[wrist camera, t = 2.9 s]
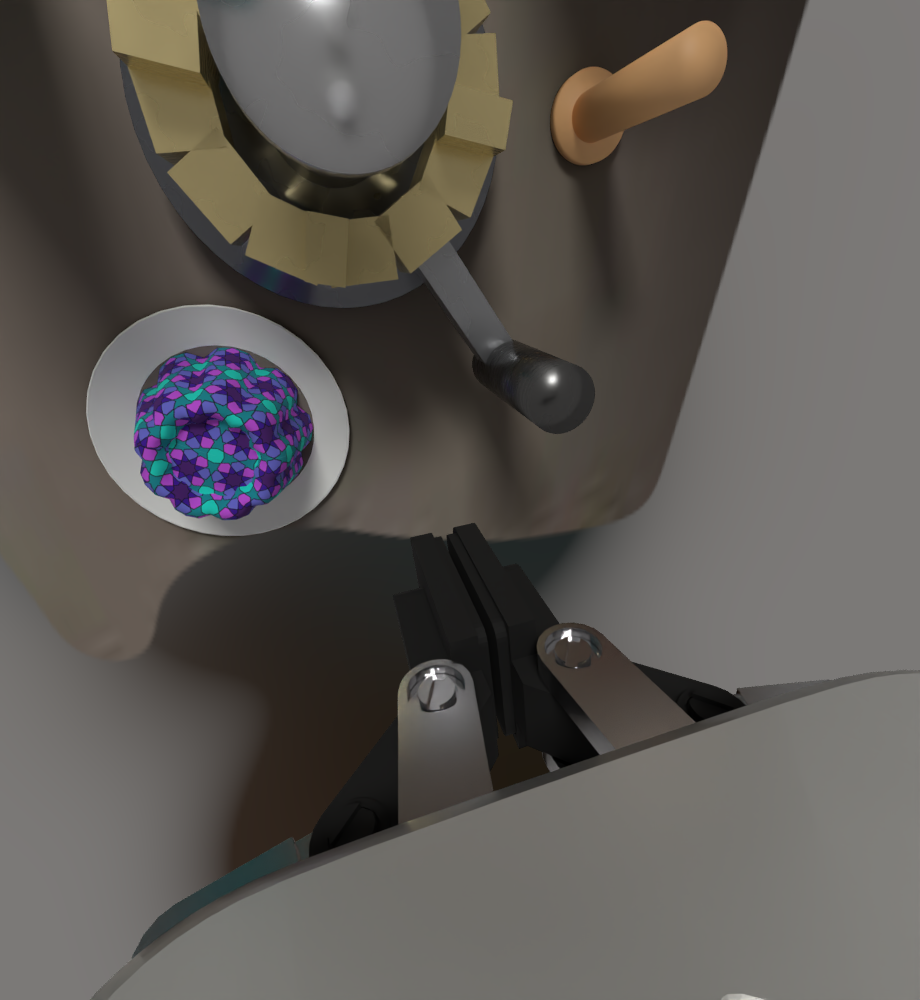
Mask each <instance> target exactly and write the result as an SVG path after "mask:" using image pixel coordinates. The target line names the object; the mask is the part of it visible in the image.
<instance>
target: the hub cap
mask: <svg viewBox="0 0 920 1000" xmlns="http://www.w3.org/2000/svg"><path fill="white" fill-rule="evenodd" d="M197 4H198V9H199V13H200V18H201V23H202V27H203V30H204V33H205V36H206V39H207V43H208V46H209V49H210V51H211V53H212V56H213V58H214V60H215V63H216V65H217V67H218V70H219V72H220V74H221V76H220V81H219V90H220V93H221V97H222V101H223V105H224V109H225V112H226V116H227V120H228V124H229V128H230V131H231V135H232V139H233V143H234V146H235V150H236V152H237V153H238V155H239V156H240V157H241V158H242V160H243V161H244V162H245V163H246V165H247V166H248V167H249V168H250V170H251V171H252V172H253V174H254V175H255V176H256V177H257V179H258V180H259V181H260V182H261V184H262V185H263V186H264V187H265V189H266V190H267V191H268V192H269V194H270V195H272V196H274V197H276V198H278V199H280V200H282V201H284V202H287V203H289V204H291V205H293V206H295V207H297V208H299V209H301V210H303V211H305V212H306V211H311V212H316V213H321V214H326V215H332V216H337V217H342V218H348V219H357V218H366V217H376V216H379V215H380V214H381V213H382V212H384V211H385V210H386V209H387V208H388V207H389V206H390V205H392V204H393V203H394V202H395V201H396V200H397V199H399V198H400V197H401V196H402V195H403V194H404V193H405V192H407V191H408V190H409V188H410V185H411V182H412V179H413V176H414V173H415V170H416V167H417V164H418V161H419V158H420V155H421V152H422V149H423V146H424V143H425V141H426V140H427V139H428V137H429V136H430V135H431V133H432V132H433V131H434V129H435V128H436V127H437V125H438V123H439V121H440V119H441V118H442V116H443V114H444V112H445V110H446V108H447V105H448V103H449V100H450V98H451V95H452V92H453V89H454V85H455V81H456V78H457V72H458V66H459V60H460V49H461V16H460V8H459V0H197ZM483 33H485V31H484V28H483V25H481V27H480V28H479V29H478V31H477V32H476V34H483ZM120 67H121V73H122V79H123V85H124V91H125V97H126V101H127V105H128V108H129V112H130V115H131V119H132V123H133V126H134V130H135V132H136V135H137V137H138V140H139V142H140V145H141V147H142V150H143V152H144V155H145V157H146V160H147V162H148V163H149V165H150V167H151V169H152V171H153V173H154V175H155V177H156V179H157V181H158V183H159V185H160V186H161V188H162V190H163V191H164V193H165V194H166V196H167V197H168V199H169V200H170V202H171V203H172V205H173V206H174V208H175V209H176V211H177V212H178V214H179V215H180V216H181V217H182V219H183V220H184V221H185V222H186V223H187V225H188V226H189V227H190V228H191V230H192V231H193V232H194V233H195V234H196V236H197V237H198V238H199V239H200V240H201V241H203V242H204V243H205V244H206V245H207V246H208V247H209V248H210V249H211V250H212V251H213V252H214V253H215V254H216V255H217V256H218V257H219V258H221V259H222V260H223V261H224V262H226V263H227V264H228V265H229V266H231V267H232V268H233V269H234V270H236V271H237V272H239V273H240V274H242V275H243V276H245V277H246V278H248V279H250V280H251V281H253V282H254V283H256V284H258V285H260V286H262V287H264V288H266V289H268V290H270V291H272V292H274V293H276V294H278V295H281V296H284V297H287V298H290V299H293V300H296V301H299V302H302V303H307V304H312V305H317V306H322V307H335V308H352V307H365V306H369V305H374V304H379V303H383V302H386V301H389V300H392V299H394V298H397V297H400V296H402V295H404V294H406V293H408V292H410V291H412V290H413V289H415V288H417V287H419V286H420V285H422V284H423V283H424V282H423V281H422V279H421V278H420V276H419V275H418V273H417V272H416V271H415V270H414V271H413V272H412V273H411V274H410V273H403V272H400V271H399V270H398V268H397V274H398V279H397V280H389V281H382V282H374V283H366V284H359V285H351V286H345V288H343V287H336V288H331V286H330V285H323V284H318V285H317V286H316V285H314V284H311V283H309V282H305V281H304V280H302V279H300V278H297V277H295V276H293V275H290V274H288V273H286V272H283V271H281V270H279V269H276V268H274V267H272V266H269V265H267V264H265V263H262V262H260V261H258V260H255V259H253V258H251V257H248V256H246V255H245V254H246V250H247V245H248V241H249V239H248V240H247V241H246V242H245V243H244V244H243V245H242V246H237V245H231V244H230V243H229V242H228V241H227V240H226V239H225V238H224V237H223V235H222V234H221V233H220V232H219V231H218V230H217V229H216V227H215V226H214V225H213V224H212V223H211V222H210V221H209V219H208V218H207V217H206V216H205V215H204V214H203V213H202V212H201V210H200V209H199V208H198V207H197V206H196V205H195V204H194V202H193V201H192V200H191V199H190V198H189V197H188V196H187V194H186V193H185V192H184V191H183V190H182V189H181V188H180V187H179V185H178V184H177V183H176V182H175V181H174V180H173V179H172V177H171V176H170V175H169V174H168V173H167V172H168V171H169V170H170V169H171V168H172V167H173V166H174V165H173V164H171V163H170V162H168V161H167V160H165V159H164V158H162V157H161V156H159V155H158V154H156V151H155V148H154V145H153V142H152V139H151V136H150V133H149V130H148V127H147V124H146V121H145V118H144V115H143V112H142V109H141V106H140V103H139V99H138V96H137V93H136V90H135V87H134V84H133V81H132V78H131V75H130V72H129V69H128V66H127V65H126V64H125V63H124V62H123V61H122V60H121V59H120ZM495 160H496V156H494V157H493V159H492V162H491V165H490V167H489V170H488V173H487V175H486V178H485V180H484V183H483V186H482V188H481V191H480V194H479V196H478V199H477V202H476V204H475V207H474V210H473V212H472V215H471V218H467V219H463V220H459V221H457V222H458V224H459V226H460V227H461V229H462V230H461V231H460V232H459V233H458V234H457V235H455V236H454V237H453V238H452V239H451V240H450V241H449V242H450V243H451V245H452V246H453V248H454V249H455V251H456V252H457V251H458V250H459V248H460V247H461V246H462V245H463V243H464V242H465V240H466V238H467V237H468V235H469V233H470V232H471V230H472V228H473V227H474V225H475V223H476V220H477V218H478V216H479V214H480V212H481V209H482V207H483V205H484V202H485V199H486V196H487V193H488V190H489V186H490V183H491V179H492V174H493V169H494V165H495Z"/></svg>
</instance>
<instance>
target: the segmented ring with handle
mask: <svg viewBox="0 0 920 1000" xmlns="http://www.w3.org/2000/svg"><path fill="white" fill-rule="evenodd" d="M107 8H108V17H109V26H110V35H111V44H112V51H113V52H114V53H115V54H116V55H117V56H118V57H119V58H120V59H121V60H122V61H123V62H124V63H125V64H126V65H127V66H128V69H129V72H130V75H131V78H132V81H133V84H134V87H135V90H136V93H137V96H138V99H139V103H140V106H141V109H142V112H143V115H144V118H145V121H146V124H147V127H148V130H149V133H150V136H151V139H152V142H153V145H154V148H155V151H156V154H158V155H159V156H161V157H162V158H164V159H165V160H167V161H168V162H170V163H171V164H173V165H174V166H173V167H172V168H171V169H170V170H169V171H168V172H167V173H168V174H169V175H170V176H171V177H172V179H173V180H174V181H175V182H176V183H177V184H178V185H179V187H180V188H181V189H182V190H183V191H184V192H185V193H186V194H187V196H188V197H189V198H190V199H191V200H192V201H193V202H194V204H195V205H196V206H197V207H198V208H199V209H200V210H201V212H202V213H203V214H204V215H205V216H206V217H207V218H208V219H209V221H210V222H211V223H212V224H213V225H214V226H215V227H216V229H217V230H218V231H219V232H220V233H221V234H222V235H223V237H224V238H225V239H226V240H227V241H228V242H229V243H230V244H231V245H237V246H242V245H243V244H244V243H245V242H246V241H247V240H248V239H249V241H248V245H247V250H246V254H245V255H246V256H248V257H251V258H253V259H255V260H258V261H260V262H262V263H265V264H267V265H269V266H272V267H274V268H276V269H279V270H281V271H283V272H286V273H288V274H290V275H293V276H295V277H297V278H300V279H302V280H304V281H305V282H309V283H311V284H314V285H316V286H317V285H318V284H323V285H330V286H331V288H336V287H343V288H345V286H351V285H359V284H366V283H374V282H382V281H389V280H397V279H398V274H397V268H398V270H399V271H400V272H403V273H410V274H411V273H412V272H413V271H414V270H415V271H416V272H417V273H418V275H419V276H420V278H421V279H422V281H423V282H424V284H425V285H426V286H427V288H428V289H429V291H430V292H431V294H432V295H433V296H434V298H435V299H436V301H437V302H438V304H439V305H440V307H441V308H442V309H443V311H444V312H445V314H446V315H447V317H448V318H449V319H450V321H451V322H452V324H453V325H454V327H455V328H456V330H457V331H458V332H459V334H460V335H461V337H462V338H463V340H464V341H465V342H466V344H467V345H468V347H469V348H470V350H471V351H472V353H473V354H474V356H473V361H472V368H473V372H474V375H475V377H476V379H477V380H478V381H479V382H480V383H481V384H482V385H484V386H485V387H486V388H488V389H489V390H490V391H492V392H493V393H494V394H496V395H497V396H498V397H500V398H501V399H502V400H504V401H505V402H506V403H508V404H509V405H510V406H512V407H513V408H514V409H516V410H517V411H518V412H520V413H521V414H522V415H523V416H525V417H526V418H527V419H529V420H530V421H531V422H533V423H534V424H535V425H537V426H538V427H539V428H541V429H542V430H544V431H546V432H549V433H554V434H560V433H565V432H568V431H571V430H573V429H575V428H576V427H577V426H579V425H580V424H581V423H582V422H583V421H584V420H585V419H586V417H587V416H588V414H589V413H590V411H591V409H592V406H593V403H594V397H595V389H594V384H593V381H592V379H591V377H590V375H589V374H588V373H587V372H586V371H585V370H584V369H583V368H581V367H579V366H577V365H574V364H572V363H569V362H567V361H565V360H562V359H560V358H557V357H555V356H552V355H550V354H547V353H545V352H543V351H540V350H538V349H535V348H533V347H530V346H528V345H525V344H523V343H520V342H518V341H516V340H513V339H511V337H510V336H509V334H508V333H507V331H506V330H505V328H504V326H503V325H502V323H501V322H500V320H499V319H498V317H497V315H496V314H495V312H494V311H493V309H492V308H491V306H490V304H489V303H488V301H487V300H486V298H485V297H484V295H483V293H482V292H481V290H480V289H479V287H478V286H477V284H476V282H475V281H474V279H473V278H472V276H471V275H470V273H469V271H468V270H467V268H466V267H465V265H464V264H463V262H462V260H461V259H460V257H459V256H458V254H457V253H456V251H455V249H454V248H453V246H452V245H451V243H450V242H449V241H450V240H451V239H452V238H453V237H454V236H455V235H457V234H458V233H459V232H460V231H461V230H462V229H461V227H460V226H459V224H458V222H457V221H459V220H463V219H467V218H471V215H472V212H473V210H474V207H475V204H476V202H477V199H478V196H479V194H480V191H481V188H482V186H483V183H484V180H485V178H486V175H487V173H488V170H489V167H490V165H491V162H492V159H493V157H494V156H496V155H497V154H499V153H501V152H503V151H504V150H505V149H506V142H507V136H508V129H509V123H510V116H511V110H512V103H513V100H509V99H506V98H502V97H499V85H498V67H497V49H496V33H483V34H476V32H477V31H478V29H479V28H480V27H481V25H482V24H483V22H484V21H485V20H486V18H487V17H488V15H489V14H490V13H491V12H490V10H489V8H488V6H487V4H486V2H485V0H459V8H460V16H461V49H460V60H459V66H458V72H457V78H456V81H455V85H454V89H453V92H452V95H451V98H450V100H449V103H448V105H447V108H446V110H445V112H444V114H443V116H442V118H441V119H440V121H439V123H438V125H437V127H436V128H435V129H434V131H433V132H432V133H431V135H430V136H429V137H428V139H427V140H426V141H425V143H424V146H423V149H422V152H421V155H420V158H419V161H418V164H417V167H416V170H415V173H414V176H413V179H412V182H411V185H410V188H409V190H408V191H407V192H405V193H404V194H403V195H402V196H401V197H400V198H399V199H397V200H396V201H395V202H394V203H393V204H392V205H390V206H389V207H388V208H387V209H386V210H385V211H384V212H382V213H381V214H380V215H379V216H376V217H366V218H357V219H348V218H342V217H337V216H332V215H326V214H321V213H316V212H311V211H306V212H305V211H303V210H301V209H299V208H297V207H295V206H293V205H291V204H289V203H287V202H284V201H282V200H280V199H278V198H276V197H274V196H272V195H270V194H269V192H268V191H267V190H266V189H265V187H264V186H263V185H262V184H261V182H260V181H259V180H258V179H257V177H256V176H255V175H254V174H253V172H252V171H251V170H250V168H249V167H248V166H247V165H246V163H245V162H244V161H243V160H242V158H241V157H240V156H239V155H238V153H237V152H236V150H235V146H234V143H233V139H232V135H231V131H230V128H229V124H228V120H227V116H226V112H225V109H224V105H223V101H222V97H221V93H220V90H219V81H220V76H221V74H220V72H219V70H218V67H217V65H216V63H215V60H214V58H213V56H212V53H211V51H210V49H209V46H208V43H207V39H206V36H205V33H204V30H203V27H202V23H201V18H200V13H199V9H198V4H197V0H107Z"/></svg>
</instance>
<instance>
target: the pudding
mask: <svg viewBox="0 0 920 1000" xmlns="http://www.w3.org/2000/svg"><path fill="white" fill-rule="evenodd" d="M212 345H220V346H230V347H236V348H240V349H244V350H247V351H251V352H253V353H255V354H257V355H260V356H262V357H264V358H266V359H268V360H269V361H271V362H272V363H274V364H275V365H277V366H279V367H280V368H281V369H282V370H283V371H284V372H285V373H287V374H288V375H289V376H290V377H291V378H292V379H293V381H294V382H295V383H296V384H297V386H298V387H299V388H300V389H301V391H302V393H303V395H304V396H305V398H306V400H307V402H308V404H309V407H310V410H311V413H312V417H313V423H314V443H313V448H312V453H311V455H310V458H309V460H308V462H307V464H306V466H305V467H304V469H303V470H302V472H301V473H300V475H299V476H298V477H297V478H296V479H295V480H294V481H293V482H292V483H291V484H290V485H288V484H289V483H290V482H291V481H292V480H293V479H294V478H295V477H296V476H297V475H298V474H299V472H300V470H301V468H302V466H303V464H304V463H303V459H302V454H301V451H302V450H303V449H304V448H305V447H306V446H307V444H308V443H309V442H310V441H311V437H312V431H313V426H312V423H311V420H310V416H309V414H307V413H306V412H305V411H304V410H302V409H301V408H300V407H299V406H297V391H298V390H297V388H296V387H295V385H294V384H293V382H292V381H291V379H290V378H289V377H288V376H287V375H285V374H284V373H282V372H281V371H279V370H278V369H275V368H260V367H259V366H258V365H257V363H256V362H255V361H254V360H253V358H252V357H251V356H250V354H248V353H246V352H243V351H241V350H238V349H235V348H216V349H215V350H214V351H213V352H211V353H210V354H209V355H207V356H206V357H205V358H203V357H199V356H196V355H193V354H189V353H183V354H180V355H176V356H173V355H175V354H177V353H180V352H182V351H184V350H187V349H191V348H195V347H200V346H212ZM171 356H173V357H171ZM169 357H171V358H169ZM168 358H169V359H168ZM166 359H168V360H167V361H166V362H165V363H164V364H163V365H162V366H161V367H160V371H159V377H158V383H157V385H155V386H152V387H150V388H147V389H145V390H143V392H142V394H141V396H140V398H139V400H138V397H139V394H140V390H141V388H142V386H143V385H144V383H145V381H146V379H147V378H148V376H149V375H150V374H151V373H152V372H153V371H154V369H155V368H156V367H157V366H158V365H159V364H161V363H162V362H164V361H165V360H166ZM137 400H138V402H137ZM136 406H137V411H136ZM86 415H87V421H88V427H89V433H90V437H91V439H92V442H93V445H94V447H95V450H96V453H97V455H98V457H99V459H100V460H101V462H102V464H103V465H104V467H105V468H106V470H107V472H108V473H109V475H110V476H111V477H112V478H113V480H114V481H115V482H116V483H117V484H118V485H119V487H120V488H121V489H122V490H123V491H124V492H125V493H126V494H127V495H128V496H130V497H131V498H132V499H133V500H134V501H136V502H137V503H138V504H139V505H140V506H142V507H143V508H145V509H146V510H148V511H150V512H151V513H153V514H155V515H156V516H158V517H159V518H161V519H164V520H166V521H168V522H170V523H173V524H175V525H177V526H180V527H183V528H186V529H190V530H193V531H197V532H200V533H206V534H213V535H221V536H245V535H252V534H259V533H264V532H268V531H271V530H274V529H278V528H281V527H283V526H286V525H288V524H290V523H292V522H294V521H296V520H298V519H300V518H301V517H303V516H304V515H306V514H307V513H308V512H310V511H311V510H313V509H314V508H315V507H316V506H317V505H318V504H319V503H320V502H321V501H322V500H323V499H324V498H325V497H326V496H327V495H328V493H329V492H330V491H331V489H332V488H333V486H334V485H335V484H336V482H337V480H338V478H339V476H340V474H341V471H342V469H343V467H344V464H345V460H346V456H347V452H348V448H349V430H350V429H349V422H348V414H347V409H346V406H345V403H344V400H343V396H342V393H341V391H340V389H339V387H338V385H337V383H336V381H335V379H334V377H333V375H332V374H331V372H330V371H329V369H328V368H327V367H326V365H325V364H324V363H323V362H322V360H321V359H320V358H319V356H318V355H317V354H316V353H315V352H314V351H313V350H312V349H311V348H310V347H309V346H307V345H306V344H305V343H304V342H303V341H302V340H301V339H300V338H298V337H297V336H295V335H294V334H293V333H291V332H290V331H288V330H287V329H285V328H284V327H282V326H281V325H279V324H277V323H275V322H272V321H270V320H268V319H266V318H264V317H262V316H260V315H257V314H254V313H251V312H247V311H244V310H240V309H237V308H233V307H225V306H217V305H187V306H180V307H175V308H171V309H167V310H162V311H159V312H156V313H154V314H152V315H150V316H147V317H145V318H143V319H141V320H138V321H137V322H135V323H134V324H132V325H131V326H130V327H128V328H127V329H126V330H124V331H123V332H121V333H120V334H119V335H118V336H117V337H116V338H115V339H114V340H113V341H112V342H111V344H110V345H109V346H108V347H107V348H106V349H105V350H104V351H103V353H102V355H101V357H100V359H99V361H98V362H97V364H96V366H95V368H94V370H93V372H92V376H91V380H90V383H89V387H88V390H87V406H86ZM287 485H288V486H287ZM286 486H287V487H286Z"/></svg>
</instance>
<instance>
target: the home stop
mask: <svg viewBox="0 0 920 1000" xmlns="http://www.w3.org/2000/svg"><path fill="white" fill-rule="evenodd" d="M726 62H727V43H726V39H725V36H724V34H723V32H722V30H721V29H720V27H719V26H718V25H716V24H715V23H713V22H711V21H700V22H697V23H695V24H694V25H692V26H690V27H689V28H687V29H686V30H684V31H682V32H681V33H679V34H677V35H676V36H674V37H673V38H671V39H669V40H668V41H666V42H664V43H663V44H661V45H660V46H658V47H656V48H655V49H653V50H652V51H650V52H648V53H647V54H645V55H643V56H642V57H640V58H639V59H637V60H635V61H634V62H632V63H631V64H629V65H627V66H626V67H624V68H622V69H621V70H619V71H618V72H616V73H614V74H612V73H610V72H609V71H607V70H606V69H603V68H600V67H587V68H584V69H582V70H580V71H578V72H577V73H575V74H574V75H573V76H571V77H570V78H569V79H567V80H566V81H565V82H564V83H563V85H562V86H561V87H560V89H559V91H558V92H557V94H556V96H555V99H554V102H553V105H552V109H551V116H550V127H551V134H552V138H553V141H554V144H555V146H556V148H557V150H558V151H559V153H560V154H561V155H562V156H563V157H564V158H565V159H566V160H567V161H569V162H571V163H572V164H575V165H580V166H584V165H590V164H593V163H596V162H599V161H601V160H603V159H604V158H606V157H607V156H608V155H609V154H610V153H612V151H613V150H614V149H615V148H616V146H617V145H618V143H619V141H620V139H621V137H622V134H623V132H624V130H626V129H628V128H631V127H633V126H636V125H638V124H640V123H643V122H645V121H648V120H650V119H652V118H655V117H657V116H660V115H662V114H664V113H667V112H669V111H672V110H674V109H676V108H679V107H681V106H684V105H686V104H689V103H691V102H693V101H696V100H698V99H701V98H703V97H705V96H707V95H708V94H710V93H711V92H712V91H713V90H714V89H715V88H716V87H717V85H718V84H719V82H720V80H721V78H722V76H723V74H724V71H725V67H726Z"/></svg>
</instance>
